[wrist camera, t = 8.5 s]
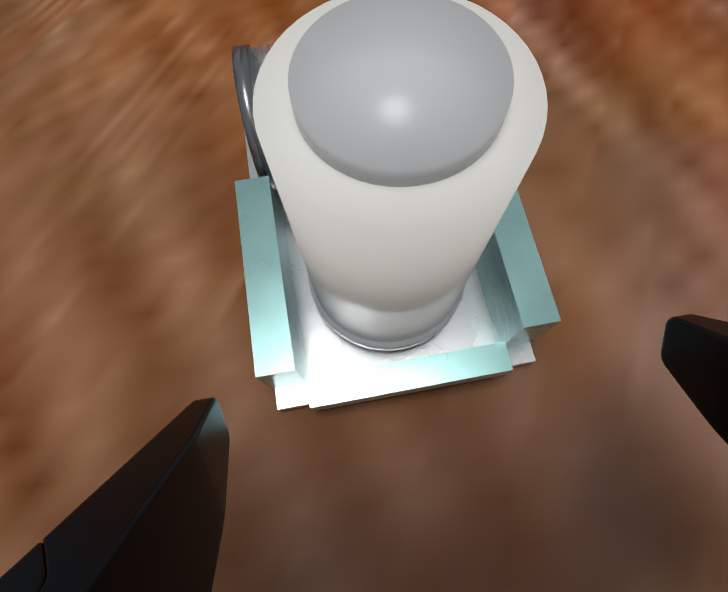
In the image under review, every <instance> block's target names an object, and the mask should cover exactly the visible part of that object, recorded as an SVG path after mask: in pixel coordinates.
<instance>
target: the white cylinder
mask: <svg viewBox="0 0 728 592" xmlns="http://www.w3.org/2000/svg"><path fill="white" fill-rule="evenodd" d="M547 107H548V105H547V94H546V88H545V84H544V80H543V76H542V73H541V71H540V69H539V66H538V64H537V62H536V60H535V58H534V56H533V55H532V53H531V52H530V50H529V48H528V47H527V45H526V44H525V43H524V42H523V41H522V39H521V38H520V37H519V36H518V35H517V34H516V33H515V32H514V31H513V30H512V29H511V28H510V27H509V26H508V25H507V24H506V23H505V22H503V21H502V20H500V19H499V18H498V17H496V16H495V15H494V14H492V13H491V12H489V11H487V10H485V9H484V8H482V7H480V6H478V5H477V4H474V3H472V2H470V1H467V0H331V1H329V2H326V3H324V4H323V5H321V6H319V7H317V8H315V9H313V10H311V11H310V12H308V13H307V14H305V15H304V16H302V17H301V18H300V19H298V20H297V21H296V22H295V23H294V24H292V25H291V26H290V27H289V28H288V29H287V30H286V31H285V32H284V33H283V34H282V35H281V36H280V37H279V38H278V40H277V41H276V42H275V43H274V45H273V46H272V48H271V49H270V51H269V52H268V53H267V55H266V57H265V59H264V61H263V63H262V65H261V67H260V70H259V73H258V76H257V79H256V82H255V87H254V94H253V118H254V124H255V130H256V133H257V136H258V138H259V141H260V144H261V147H262V150H263V153H264V155H265V158H266V161H267V163H268V166H269V169H270V171H271V174H272V177H273V180H274V182H275V185H276V188H277V190H278V193H279V196H280V198H281V201H282V204H283V207H284V209H285V212H286V215H287V217H288V220H289V223H290V225H291V228H292V231H293V234H294V236H295V239H296V242H297V244H298V247H299V250H300V253H301V255H302V258H303V261H304V263H305V266H306V269H307V271H308V281H309V286H310V291H311V294H312V297H313V300H314V302H315V305H316V307H317V309H318V311H319V313H320V315H321V316H322V317H323V319H324V320H325V322H326V323H327V324H328V325H329V326H330V327H331V328H332V329H333V330H334V331H335V332H336V333H337V334H339V335H340V336H341V337H343V338H344V339H346V340H348V341H349V342H351V343H354V344H356V345H358V346H361V347H364V348H367V349H373V350H378V351H395V350H402V349H407V348H411V347H413V346H416V345H419V344H421V343H423V342H425V341H427V340H429V339H430V338H432V337H433V336H434V335H436V334H437V333H438V332H439V331H440V330H441V329H442V328H444V327H445V325H446V324H447V323H448V322H449V320H450V319H451V317H452V316H453V314H454V313H455V311H456V309H457V307H458V306H459V303H460V301H461V299H462V296H463V293H464V289H465V284H466V282H467V280H468V278H469V276H470V274H471V273H472V271H473V269H474V267H475V265H476V263H477V262H478V260H479V258H480V256H481V254H482V252H483V250H484V249H485V247H486V245H487V243H488V241H489V239H490V238H491V236H492V234H493V232H494V230H495V228H496V226H497V225H498V223H499V221H500V219H501V217H502V215H503V214H504V212H505V210H506V208H507V206H508V204H509V202H510V201H511V199H512V197H513V195H514V193H515V191H516V189H517V188H518V186H519V184H520V182H521V180H522V178H523V177H524V175H525V173H526V171H527V169H528V167H529V165H530V164H531V162H532V160H533V158H534V156H535V154H536V152H537V150H538V148H539V145H540V143H541V140H542V138H543V134H544V130H545V126H546V122H547Z"/></svg>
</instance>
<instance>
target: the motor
mask: <svg viewBox="0 0 728 592" xmlns="http://www.w3.org/2000/svg"><path fill="white" fill-rule="evenodd" d="M273 45H274V44H268V45H262V46H255V47H250V45H249V44H247V45H241V46H234V47H233V49H232V63H233V72H234V79H235V86H236V91H237V97H238V102H239V107H240V112H241V116H242V121H243V125H244V132H245V140H246V149H247V157H248V165H249V174H250V179H245V180H239V181H235V189H236V198H237V208H238V217H239V226H240V236H241V245H242V255H243V264H244V273H245V283H246V292H247V302H248V311H249V320H250V330H251V339H252V349H253V358H254V368H255V377H256V378H257V379H259V380H260V381H262V382H264V383H265V384H267V385H268V386H270V387H271V388H273V389H274V390H275V392H276V400H277V409H278V410H280V411H283V410H289V409H294V408H299V407H305V406H310V408H311V409H312V410H314V411H318V410H323V409H329V408H334V407H339V406H345V405H350V404H355V403H361V402H366V401H371V400H376V399H382V398H387V397H392V396H398V395H403V394H408V393H413V392H419V391H424V390H429V389H435V388H440V387H445V386H450V385H456V384H461V383H466V382H472V381H477V380H482V379H488V378H493V377H498V376H503V375H505V374H507V373H509V372H510V371H512V370H513V368H512V367H517V366H522V365H528V364H531V363H533V362H535V361H536V360H535V357H534V354H533V351H532V347H531V344H530V342H532V341H533V340H535V339H536V338H537V337H539V336H540V335H542V334H543V333H544V332H546V331H547V330H549V329H550V328H552V327H553V326H554V325H556V324H557V323H559V322H560V321H561V319H560V316H559V313H558V310H557V307H556V304H555V301H554V298H553V295H552V292H551V289H550V286H549V283H548V280H547V277H546V274H545V271H544V268H543V265H542V262H541V259H540V257H539V254H538V251H537V248H536V245H535V242H534V239H533V236H532V233H531V230H530V227H529V224H528V221H527V218H526V215H525V212H524V209H523V206H522V203H521V200H520V197H519V194H518V191H517V189H516V191H515V193H514V195H513V197H512V199H511V201H510V202H509V204H508V206H507V208H506V210H505V212H504V214H503V215H502V217H501V219H500V221H499V223H498V225H497V226H496V228H495V230H494V232H493V234H492V236H491V238H490V239H489V241H488V243H487V245H486V247H485V249H484V250H483V252H482V254H481V256H480V258H479V260H478V262H477V263H476V265H475V267H474V269H473V271H472V273H471V274H470V276H469V278H468V280H467V282H466V284H465V289H464V293H463V296H462V299H461V301H460V303H459V306H458V307H457V309H456V311H455V313H454V314H453V316H452V317H451V319H450V320H449V322H448V323H447V324H446V325H445V327H444V328H442V329H441V330H440V331H439V332H438V333H437V334H436V335H434V336H433V337H432V338H430V339H429V340H427V341H425V342H423V343H421V344H419V345H416V346H413V347H411V348H407V349H402V350H395V351H378V350H373V349H367V348H364V347H361V346H358V345H356V344H354V343H351V342H349V341H348V340H346V339H344V338H343V337H341V336H340V335H339V334H337V333H336V332H335V331H334V330H333V329H332V328H331V327H330V326H329V325H328V324H327V323H326V322H325V320H324V319H323V317H322V316H321V315H320V313H319V311H318V309H317V307H316V305H315V302H314V300H313V297H312V294H311V291H310V286H309V281H308V271H307V269H306V266H305V263H304V261H303V258H302V255H301V253H300V250H299V247H298V244H297V242H296V239H295V236H294V234H293V231H292V228H291V225H290V223H289V220H288V217H287V215H286V212H285V209H284V207H283V204H282V201H281V198H280V196H279V193H278V190H277V188H276V185H275V182H274V180H273V177H272V174H271V171H270V169H269V166H268V163H267V161H266V158H265V155H264V153H263V150H262V147H261V144H260V141H259V138H258V136H257V133H256V130H255V124H254V118H253V94H254V87H255V82H256V79H257V76H258V73H259V70H260V67H261V65H262V63H263V61H264V59H265V57H266V55H267V53H268V52H269V51H270V49H271V48H272V46H273Z"/></svg>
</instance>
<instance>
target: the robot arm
mask: <svg viewBox="0 0 728 592" xmlns="http://www.w3.org/2000/svg"><path fill="white" fill-rule="evenodd" d="M661 358H662V361H663V363H664V365H665V366H666V368H667V369H668V370H669V372H670V373H671V374H672V376H673V377H674V378H675V380H676V381H677V382H678V384H679V385H680V386H681V387H682V389H683V390H684V391H685V393H686V394H687V395H688V397H689V398H690V399H691V401H692V402H693V403H694V405H695V406H696V407H697V409H698V410H699V411H700V412H701V414H702V415H703V416H704V418H705V419H706V420H707V421H708V423H709V424H710V425H711V426H712V428H713V429H714V430H715V431H716V432H717V433H718V434H719V435H720V437H721V438H722V439H723V440H724V441H725V442H726V443H727V444H728V322H725V321H721V320H716V319H712V318H707V317H703V316H698V315H693V314H687V315H682V316H676V317H672V318H670V319H669V320H668V321H667V323H666V326H665V331H664V337H663V343H662V349H661ZM228 458H229V433H228V429H227V426H226V423H225V420H224V417H223V413H222V410H221V407H220V404H219V402H218V400H217V399H216V398H206V399H201V400H195V401H193V402H192V403H191V404H190V405H189V406H187V407H186V408H185V409H184V410H183V411H182V412H181V413H180V414H179V415H178V416H177V417H175V418H174V419H173V420H172V421H171V422H170V423H169V424H168V425H167V426H166V427H165V428H164V429H162V430H161V431H160V432H159V433H158V434H157V435H156V436H155V437H154V438H153V439H152V440H150V441H149V442H148V443H147V444H146V445H145V446H144V447H143V448H142V449H141V450H140V451H138V452H137V453H136V454H135V455H134V456H133V457H132V458H131V459H130V460H129V461H128V462H126V463H125V464H124V465H123V466H122V467H121V468H120V469H119V470H118V471H117V472H116V473H115V474H113V475H112V476H111V477H110V478H109V479H108V480H107V481H106V482H105V483H104V484H103V485H101V486H100V487H99V488H98V489H97V490H96V491H95V492H94V493H93V494H92V495H91V496H89V497H88V498H87V499H86V500H85V501H84V502H83V503H82V504H81V505H80V506H79V507H77V508H76V509H75V510H74V511H73V512H72V513H71V514H70V515H69V516H68V517H67V518H65V519H64V520H63V521H62V522H61V523H60V524H59V525H58V526H57V527H56V528H55V529H53V530H52V531H51V532H50V533H49V534H48V535H47V536H46V537H45V538H44V539H43V543H38V544H37V545H36V546H35V547H34V548H33V549H32V550H30V551H29V552H28V553H27V554H26V555H25V556H24V557H23V558H22V559H21V560H20V561H18V562H17V563H16V564H15V565H14V566H13V567H12V568H11V569H10V570H8V571H7V572H6V573H5V574H4V575H3V576H2V577H1V578H0V592H212V586H213V581H214V575H215V570H216V564H217V559H218V553H219V547H220V542H221V536H222V531H223V524H224V518H225V507H226V491H227V475H228Z"/></svg>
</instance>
